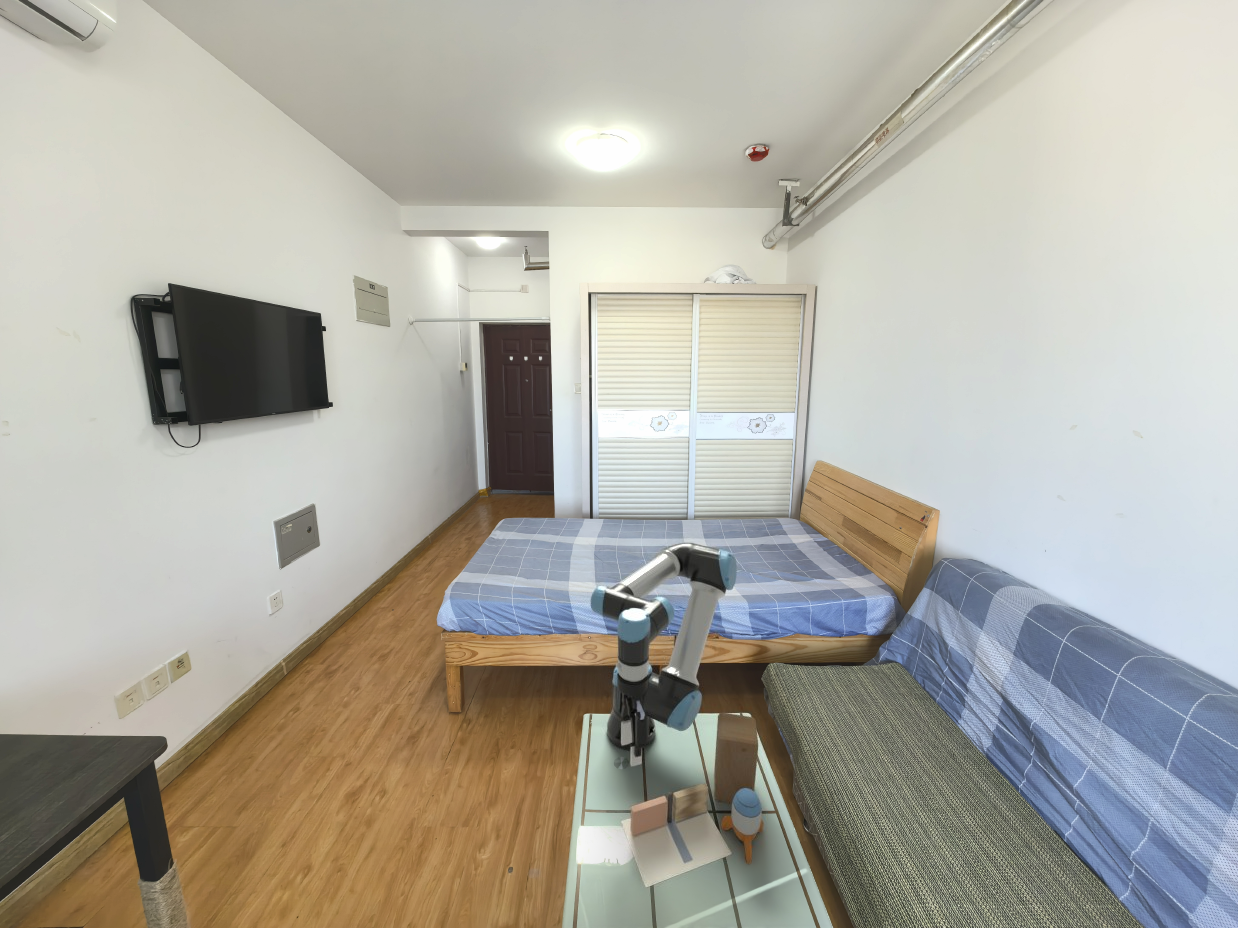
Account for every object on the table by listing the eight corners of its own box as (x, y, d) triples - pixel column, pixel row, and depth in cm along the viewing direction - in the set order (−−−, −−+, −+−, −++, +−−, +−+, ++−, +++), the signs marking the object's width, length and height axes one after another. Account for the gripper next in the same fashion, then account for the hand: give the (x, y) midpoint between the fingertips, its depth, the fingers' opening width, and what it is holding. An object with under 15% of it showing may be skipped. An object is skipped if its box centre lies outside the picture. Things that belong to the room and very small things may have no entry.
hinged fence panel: (663, 818, 116) (664, 795, 115) (666, 824, 115) (667, 800, 114) (630, 829, 114) (630, 806, 112) (632, 835, 112) (633, 812, 111)
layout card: (621, 822, 116) (621, 820, 116) (698, 796, 123) (698, 794, 123) (645, 889, 101) (645, 886, 101) (731, 855, 109) (731, 853, 109)
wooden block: (753, 809, 120) (759, 744, 116) (713, 802, 122) (718, 737, 118) (750, 777, 130) (755, 715, 125) (714, 770, 132) (718, 710, 127)
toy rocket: (714, 835, 114) (721, 775, 114) (748, 825, 119) (754, 767, 119) (741, 870, 105) (749, 805, 105) (777, 858, 110) (784, 795, 110)
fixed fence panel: (668, 825, 115) (669, 797, 114) (665, 819, 117) (667, 791, 115) (706, 812, 119) (708, 784, 117) (703, 806, 120) (705, 779, 119)
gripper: (605, 652, 119) (605, 729, 124) (632, 702, 102) (630, 789, 107) (633, 647, 122) (631, 722, 127) (663, 695, 104) (660, 780, 109)
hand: (631, 753), depth 117 cm, fingers open, 6 cm apart
